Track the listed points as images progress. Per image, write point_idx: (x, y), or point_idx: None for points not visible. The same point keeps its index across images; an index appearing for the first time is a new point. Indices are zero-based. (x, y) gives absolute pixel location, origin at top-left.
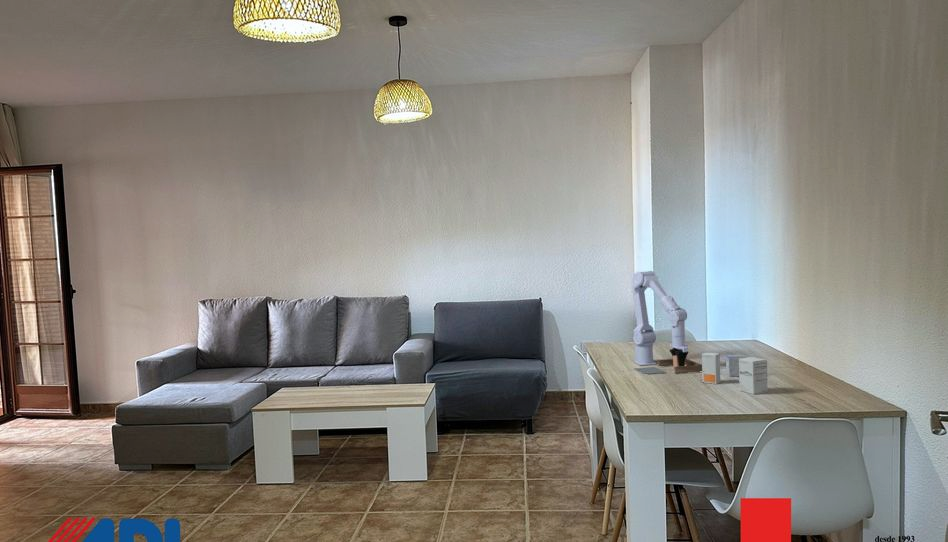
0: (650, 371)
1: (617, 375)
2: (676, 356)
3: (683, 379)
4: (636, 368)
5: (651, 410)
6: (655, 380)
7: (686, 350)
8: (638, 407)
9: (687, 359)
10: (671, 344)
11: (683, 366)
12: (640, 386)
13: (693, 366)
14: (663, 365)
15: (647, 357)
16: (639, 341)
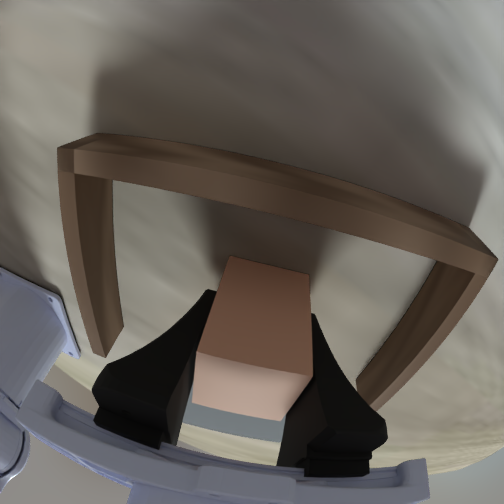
0: (254, 422)
1: (237, 459)
2: (252, 411)
3: (456, 394)
4: None
5: (481, 456)
6: None
7: (418, 476)
8: (462, 465)
9: (128, 166)
10: (115, 481)
11: (400, 386)
12: (393, 463)
13: (446, 331)
14: (117, 311)
15: (49, 359)
16: (22, 445)
